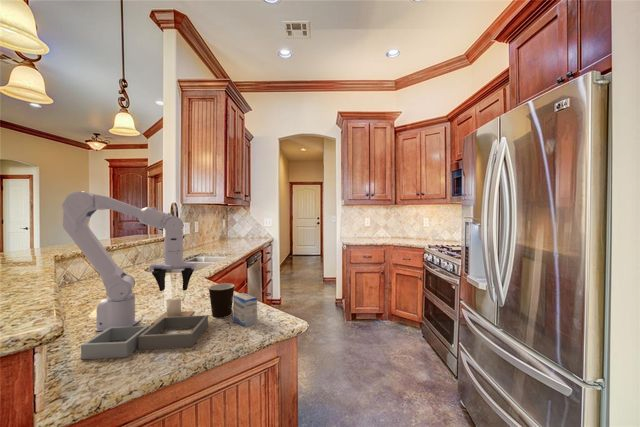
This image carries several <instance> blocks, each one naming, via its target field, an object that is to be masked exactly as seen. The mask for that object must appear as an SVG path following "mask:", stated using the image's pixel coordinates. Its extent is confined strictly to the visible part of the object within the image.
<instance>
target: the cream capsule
mask: <svg viewBox="0 0 640 427" xmlns="http://www.w3.org/2000/svg"><path fill="white" fill-rule="evenodd" d="M165 302H166V307H165V308H166V314H167V317H175V316H181V312H182V298H181V297H170V298H167V299H166V301H165Z"/></svg>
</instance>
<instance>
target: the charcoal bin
mask: <svg viewBox="0 0 640 427" xmlns="http://www.w3.org/2000/svg"><path fill="white" fill-rule="evenodd" d="M208 327H209V315H208V314H207V315H206V314H205V315H204V314H203V315H191V316H175V317H162V318H161V319H160V320H159V321H157V322H156V323H155V324H153V325H150V326H149V329H147V330H146V331H145V332H143V333H142V334H141V335H140V336H138V348H137V350H138V351H139V350H141V351H142V350H158V349H159V350H163V349H178V348H179V349H182V348H193V347H194V345H195V344H196V343H197V341H198V340H199V338H200V337H201V336H202V335H203V333H205V330H207V328H208ZM173 329H175V330H176V329H192V330H191V331H190V332H184V333H183V332H182V333H162V332H163V331H164V330H173ZM160 332H161V333H160ZM159 333H160V334H159Z"/></svg>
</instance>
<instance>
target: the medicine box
mask: <svg viewBox="0 0 640 427" xmlns="http://www.w3.org/2000/svg"><path fill="white" fill-rule="evenodd" d="M232 321H233V322H234V323H236V324H238V325H240V326H243V327H245V328H248V327H250V326H254V325H256V324H258V297H255V296H253V295H252V294H251V295H250V294H248V293H246V292H243V293H238V294H233V303H232Z"/></svg>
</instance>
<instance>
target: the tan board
mask: <svg viewBox="0 0 640 427" xmlns="http://www.w3.org/2000/svg"><path fill="white" fill-rule="evenodd" d="M193 314H195V311H194V310H193V311H192V310H191V311H190V310H189V311H186V310H185V311H181V316H193ZM162 317H167V314H166V312H164V313H162V314H161V315H160V316H158V318H156V319H155V320H153V321H152V322H151V323H150V326H152V325H154V324H155V323H156V322H157V321H159V320H160V319H161V318H162Z"/></svg>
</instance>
